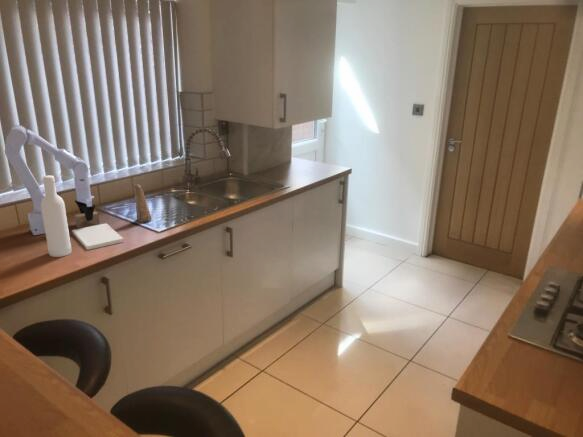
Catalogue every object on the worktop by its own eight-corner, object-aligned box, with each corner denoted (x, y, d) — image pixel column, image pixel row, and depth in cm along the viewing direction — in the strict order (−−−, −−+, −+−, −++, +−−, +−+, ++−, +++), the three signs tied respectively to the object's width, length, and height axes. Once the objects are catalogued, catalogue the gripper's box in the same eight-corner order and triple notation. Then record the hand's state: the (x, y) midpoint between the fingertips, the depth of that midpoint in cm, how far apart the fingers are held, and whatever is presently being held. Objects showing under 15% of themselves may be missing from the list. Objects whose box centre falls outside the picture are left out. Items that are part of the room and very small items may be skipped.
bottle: (53, 248, 182) (41, 173, 172) (75, 248, 183) (63, 173, 173) (45, 257, 175) (31, 179, 164) (67, 257, 175) (55, 179, 165)
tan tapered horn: (138, 220, 216) (137, 225, 210) (128, 183, 209) (126, 187, 203) (152, 217, 217) (151, 222, 211) (142, 180, 209) (141, 184, 204)
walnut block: (78, 228, 203) (76, 217, 201) (75, 225, 206) (74, 214, 204) (99, 224, 208) (98, 213, 207) (96, 221, 211) (95, 211, 210)
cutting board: (87, 250, 182) (87, 246, 181) (72, 233, 197) (72, 230, 197) (123, 241, 190) (123, 238, 189) (106, 226, 205) (106, 223, 205)
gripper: (97, 190, 198) (101, 220, 203) (87, 182, 209) (91, 211, 214) (80, 193, 194) (84, 224, 199) (70, 185, 205) (75, 214, 210)
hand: (87, 217), depth 206 cm, fingers open, 7 cm apart
